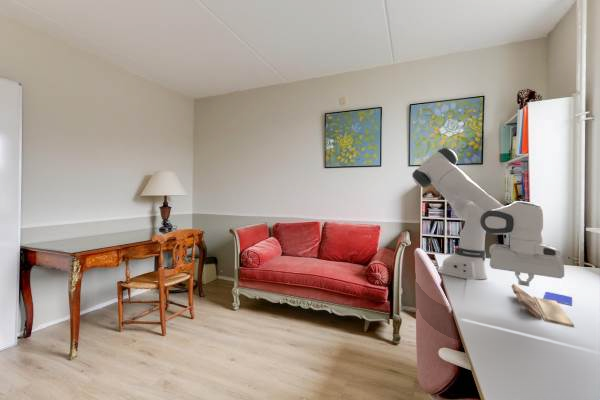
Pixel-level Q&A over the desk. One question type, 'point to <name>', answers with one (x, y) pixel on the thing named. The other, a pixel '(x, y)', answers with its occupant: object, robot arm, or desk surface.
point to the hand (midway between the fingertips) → (523, 285)
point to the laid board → (552, 311)
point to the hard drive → (558, 298)
